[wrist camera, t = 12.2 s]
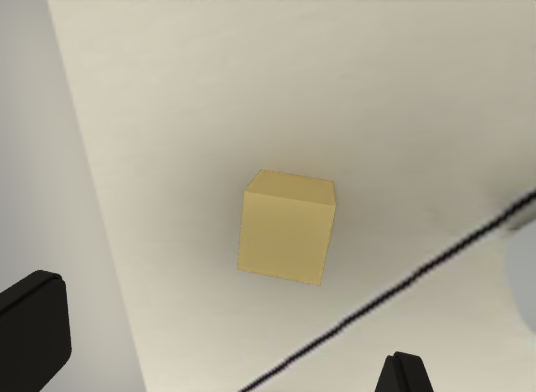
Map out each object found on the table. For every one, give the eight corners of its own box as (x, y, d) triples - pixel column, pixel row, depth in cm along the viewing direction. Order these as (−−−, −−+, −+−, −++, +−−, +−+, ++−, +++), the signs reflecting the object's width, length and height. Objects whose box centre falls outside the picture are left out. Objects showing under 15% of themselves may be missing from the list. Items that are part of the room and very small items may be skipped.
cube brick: (332, 180, 26) (336, 206, 20) (320, 246, 28) (320, 285, 22) (260, 169, 26) (244, 191, 21) (253, 234, 28) (236, 269, 23)
